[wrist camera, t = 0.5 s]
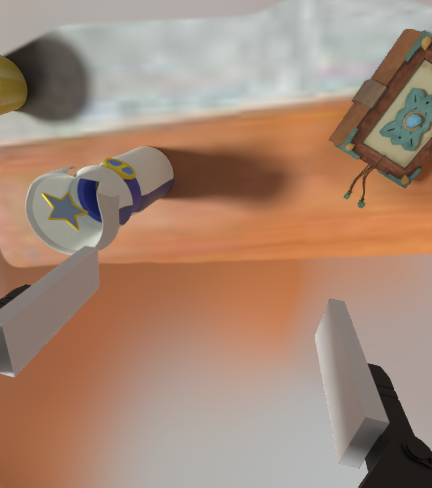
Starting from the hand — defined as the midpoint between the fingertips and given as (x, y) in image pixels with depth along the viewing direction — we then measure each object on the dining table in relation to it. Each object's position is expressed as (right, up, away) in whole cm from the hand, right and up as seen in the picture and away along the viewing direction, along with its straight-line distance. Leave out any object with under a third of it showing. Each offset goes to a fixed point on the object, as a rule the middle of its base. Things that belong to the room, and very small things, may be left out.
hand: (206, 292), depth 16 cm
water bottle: (-9, +13, +26) cm, 31 cm away
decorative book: (+22, +16, +20) cm, 34 cm away
